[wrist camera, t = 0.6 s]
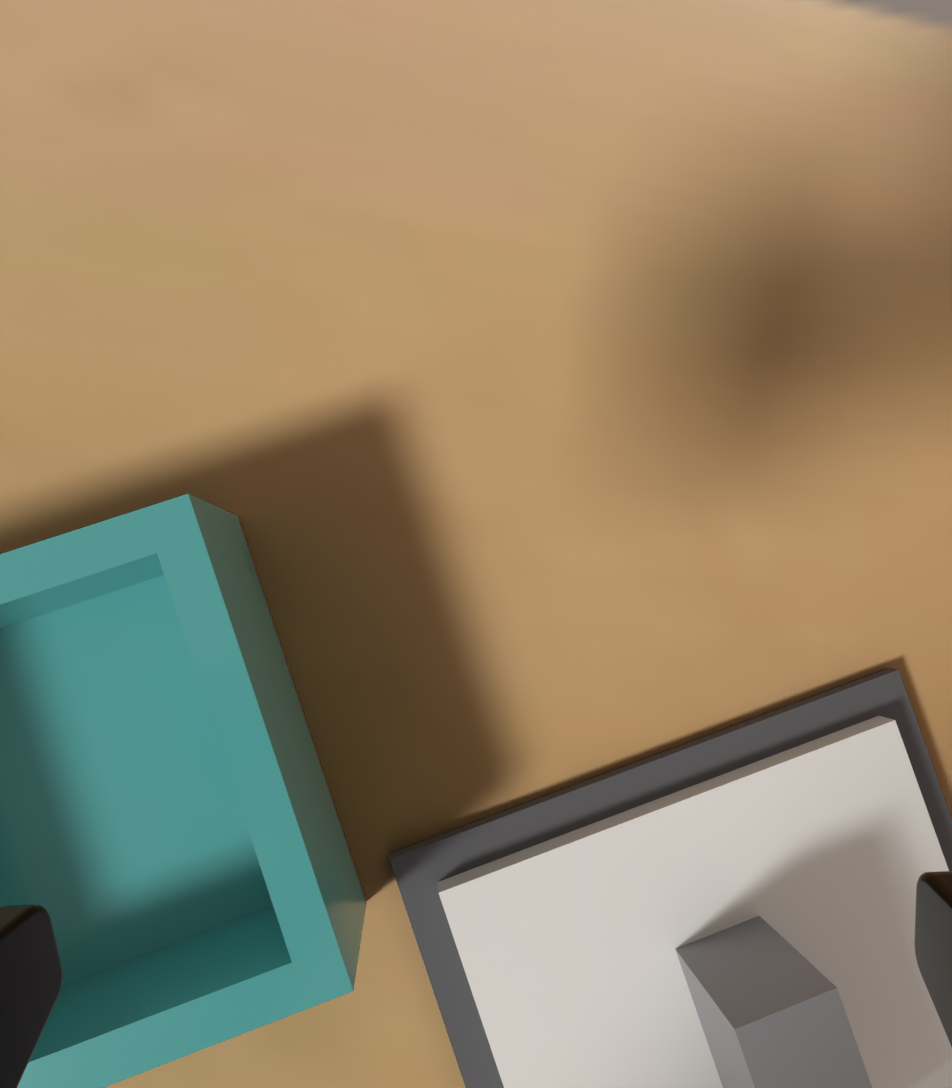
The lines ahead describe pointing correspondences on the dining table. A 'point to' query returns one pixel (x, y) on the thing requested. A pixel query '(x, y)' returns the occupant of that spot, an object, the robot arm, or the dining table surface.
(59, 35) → the dining table surface
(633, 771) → the mat
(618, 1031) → the lid
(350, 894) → the dish
